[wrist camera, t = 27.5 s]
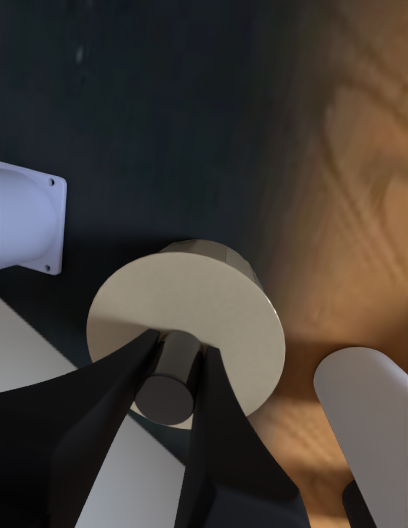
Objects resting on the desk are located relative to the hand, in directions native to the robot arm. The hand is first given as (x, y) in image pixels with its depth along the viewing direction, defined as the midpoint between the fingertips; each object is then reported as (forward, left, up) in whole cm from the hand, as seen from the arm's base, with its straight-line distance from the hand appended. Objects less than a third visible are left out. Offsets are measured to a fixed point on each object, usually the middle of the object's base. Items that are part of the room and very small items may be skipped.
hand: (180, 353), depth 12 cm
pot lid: (0, 0, -1) cm, 1 cm away
